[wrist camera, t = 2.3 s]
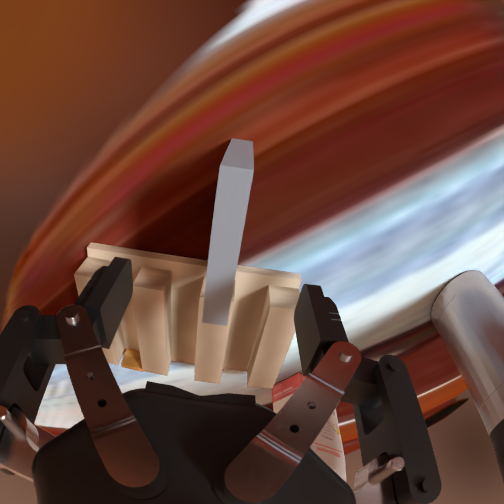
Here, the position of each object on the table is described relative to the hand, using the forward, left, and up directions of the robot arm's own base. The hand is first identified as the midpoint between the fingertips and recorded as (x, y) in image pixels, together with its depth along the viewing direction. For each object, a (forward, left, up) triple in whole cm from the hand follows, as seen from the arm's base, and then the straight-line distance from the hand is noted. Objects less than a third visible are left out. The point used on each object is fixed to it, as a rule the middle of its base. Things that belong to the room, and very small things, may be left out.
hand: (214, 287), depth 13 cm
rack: (+3, +13, -12) cm, 18 cm away
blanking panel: (0, 0, -12) cm, 12 cm away
